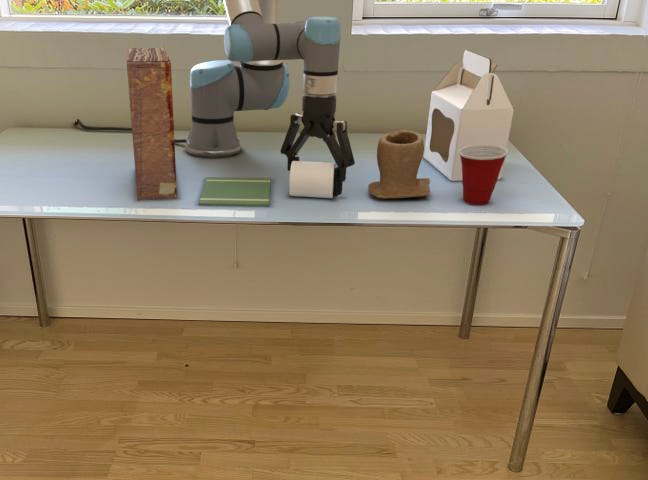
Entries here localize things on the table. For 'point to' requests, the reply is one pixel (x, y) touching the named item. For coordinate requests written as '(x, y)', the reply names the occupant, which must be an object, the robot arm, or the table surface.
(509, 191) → the table surface
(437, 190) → the table surface
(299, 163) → the mug
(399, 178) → the stone cup
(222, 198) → the cloth
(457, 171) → the gable box
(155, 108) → the book
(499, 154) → the plastic cup
